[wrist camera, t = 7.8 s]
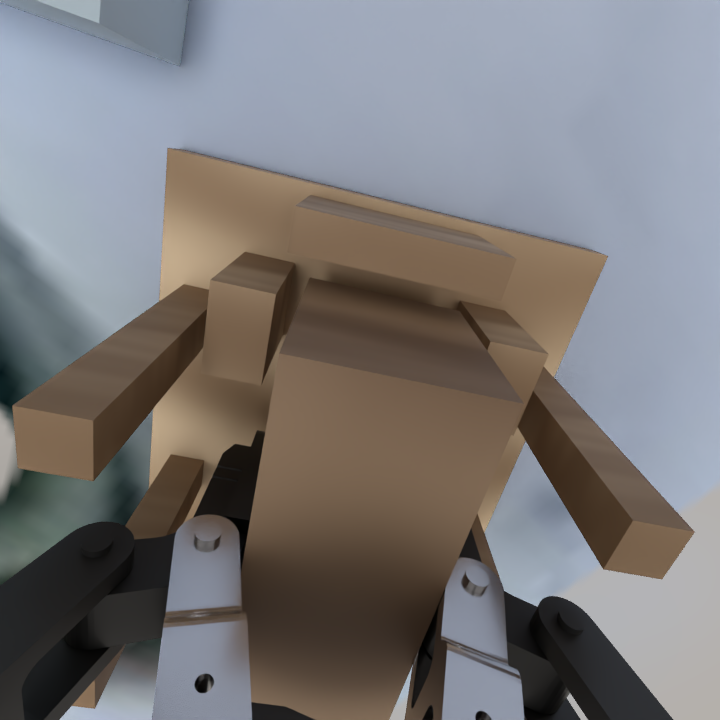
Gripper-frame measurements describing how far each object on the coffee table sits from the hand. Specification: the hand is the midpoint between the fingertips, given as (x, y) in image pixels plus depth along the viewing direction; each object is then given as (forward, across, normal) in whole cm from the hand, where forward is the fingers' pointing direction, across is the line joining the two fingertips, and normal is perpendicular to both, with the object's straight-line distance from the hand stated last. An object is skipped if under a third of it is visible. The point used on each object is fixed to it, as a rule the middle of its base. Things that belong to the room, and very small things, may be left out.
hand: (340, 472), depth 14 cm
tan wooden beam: (0, 0, 0) cm, 0 cm away
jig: (+4, 0, 0) cm, 4 cm away
